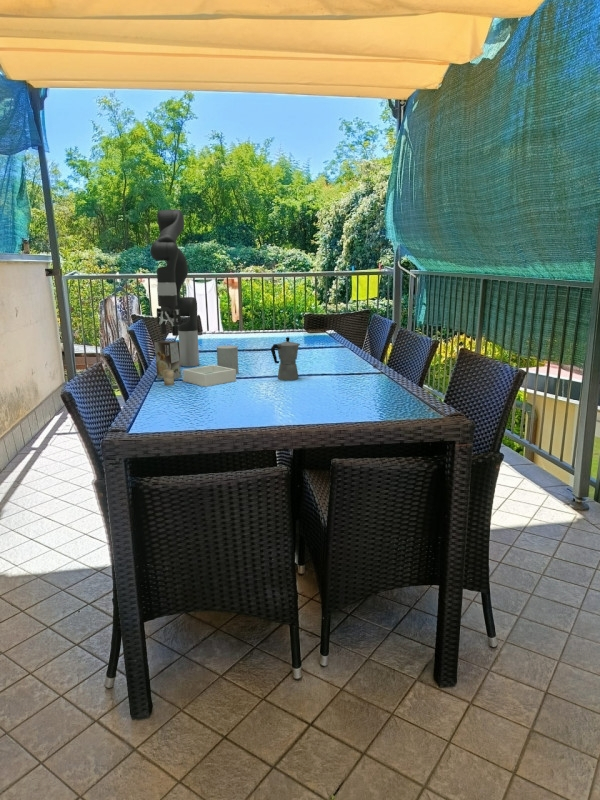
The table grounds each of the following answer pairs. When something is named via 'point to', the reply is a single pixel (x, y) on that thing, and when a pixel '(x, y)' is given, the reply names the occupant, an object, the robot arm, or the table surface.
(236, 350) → the gray cylinder
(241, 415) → the table surface
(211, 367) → the box
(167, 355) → the coffee box
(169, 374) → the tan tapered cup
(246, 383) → the table surface
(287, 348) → the coffeepot
